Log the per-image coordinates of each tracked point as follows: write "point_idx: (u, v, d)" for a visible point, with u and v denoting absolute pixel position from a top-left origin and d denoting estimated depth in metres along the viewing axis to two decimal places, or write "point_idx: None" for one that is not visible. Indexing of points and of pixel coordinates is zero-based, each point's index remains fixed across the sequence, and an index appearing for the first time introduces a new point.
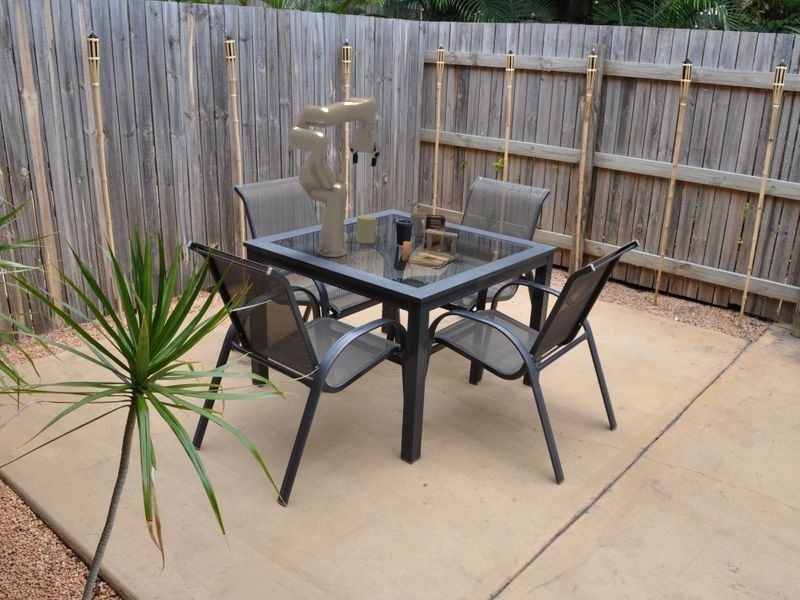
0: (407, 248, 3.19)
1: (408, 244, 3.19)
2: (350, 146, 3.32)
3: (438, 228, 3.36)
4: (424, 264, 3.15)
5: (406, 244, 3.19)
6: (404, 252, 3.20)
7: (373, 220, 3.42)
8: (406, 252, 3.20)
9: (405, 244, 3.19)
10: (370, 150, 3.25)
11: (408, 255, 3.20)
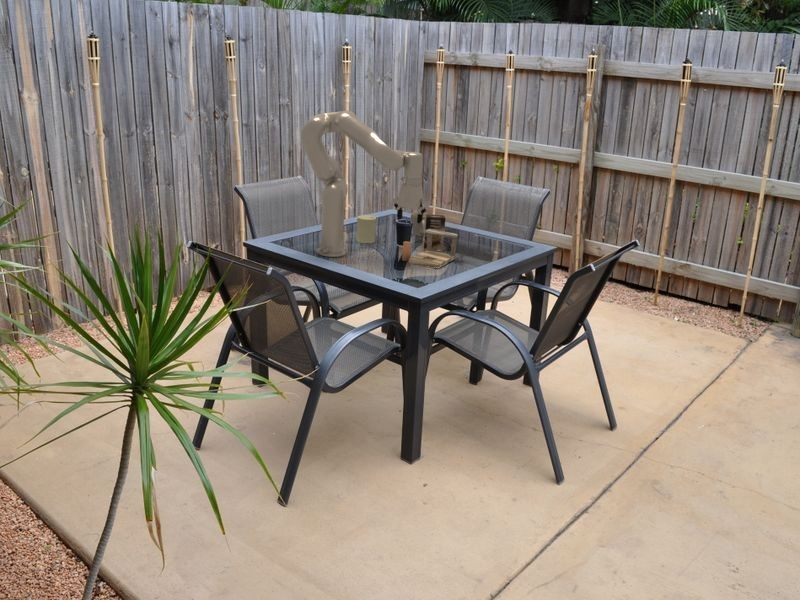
0: (407, 248, 3.19)
1: (408, 244, 3.19)
2: (394, 201, 3.17)
3: (438, 228, 3.36)
4: (424, 264, 3.15)
5: (406, 244, 3.19)
6: (404, 252, 3.20)
7: (373, 220, 3.42)
8: (406, 252, 3.20)
9: (405, 244, 3.19)
10: (416, 207, 3.10)
11: (408, 255, 3.20)
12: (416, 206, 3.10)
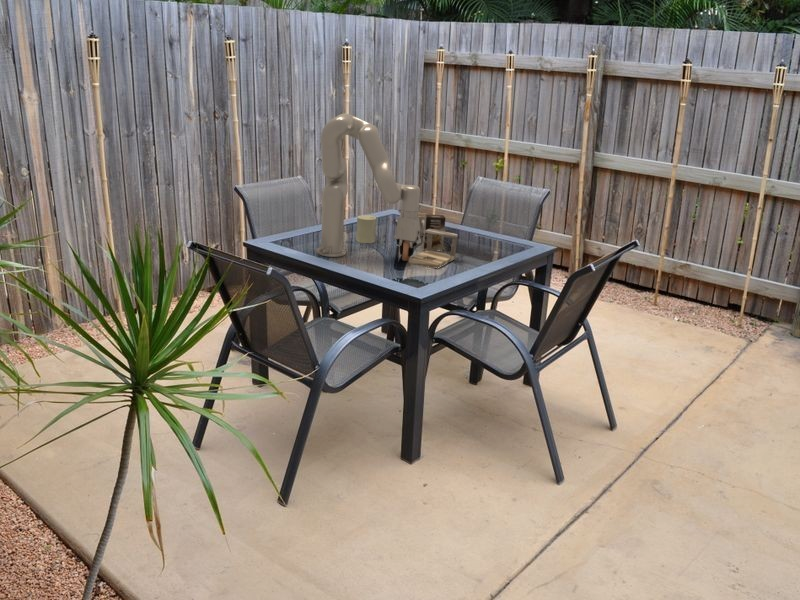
0: (407, 248, 3.19)
1: (408, 244, 3.19)
2: (396, 237, 3.21)
3: (438, 228, 3.36)
4: (424, 264, 3.15)
5: (406, 244, 3.19)
6: (404, 252, 3.20)
7: (373, 220, 3.42)
8: (406, 252, 3.20)
9: (405, 244, 3.19)
10: (413, 239, 3.15)
11: None
12: (413, 238, 3.15)
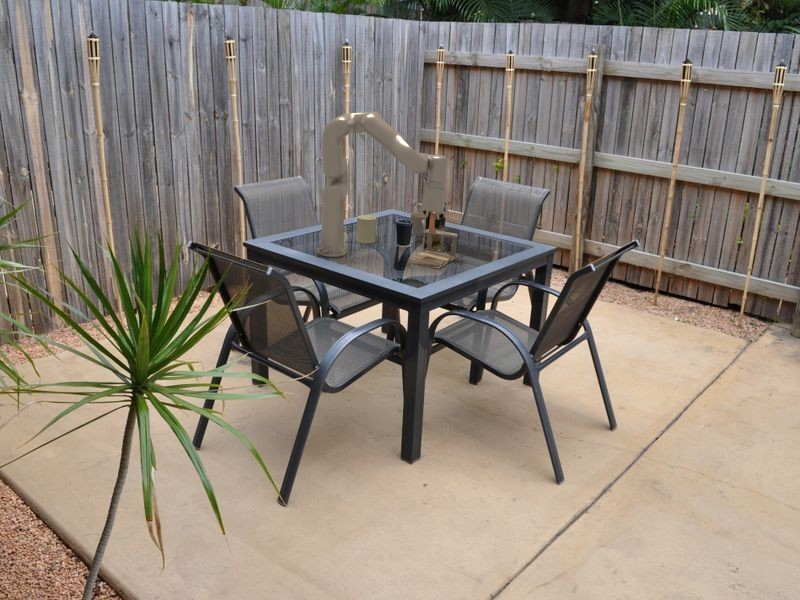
0: (434, 220, 3.13)
1: (435, 216, 3.12)
2: (422, 209, 3.15)
3: (438, 228, 3.36)
4: (424, 264, 3.15)
5: (433, 216, 3.12)
6: (431, 224, 3.14)
7: (373, 220, 3.42)
8: (433, 224, 3.13)
9: (432, 216, 3.12)
10: (440, 210, 3.08)
11: None
12: (440, 209, 3.08)
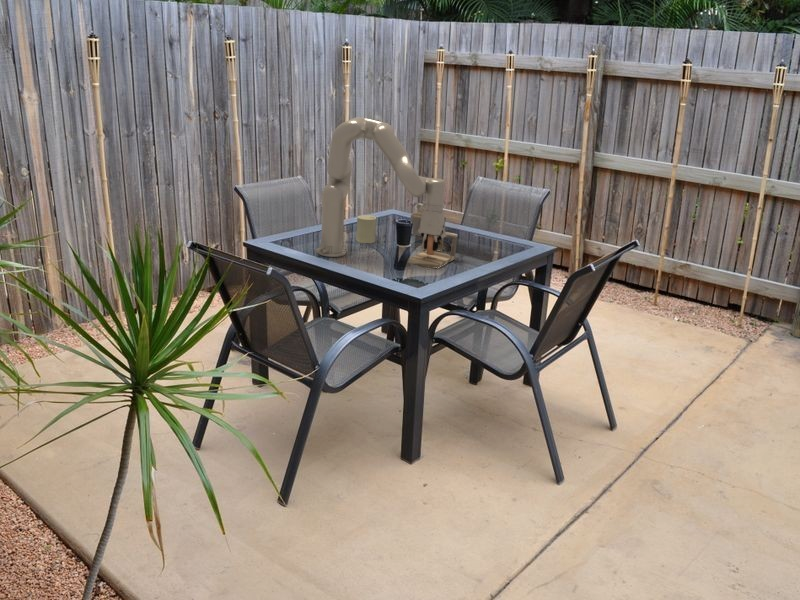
0: (432, 242, 3.16)
1: (433, 238, 3.15)
2: (420, 231, 3.18)
3: None
4: (424, 264, 3.15)
5: (431, 238, 3.15)
6: (429, 246, 3.17)
7: (373, 220, 3.42)
8: (431, 246, 3.17)
9: (430, 238, 3.16)
10: (438, 233, 3.12)
11: None
12: (438, 232, 3.12)
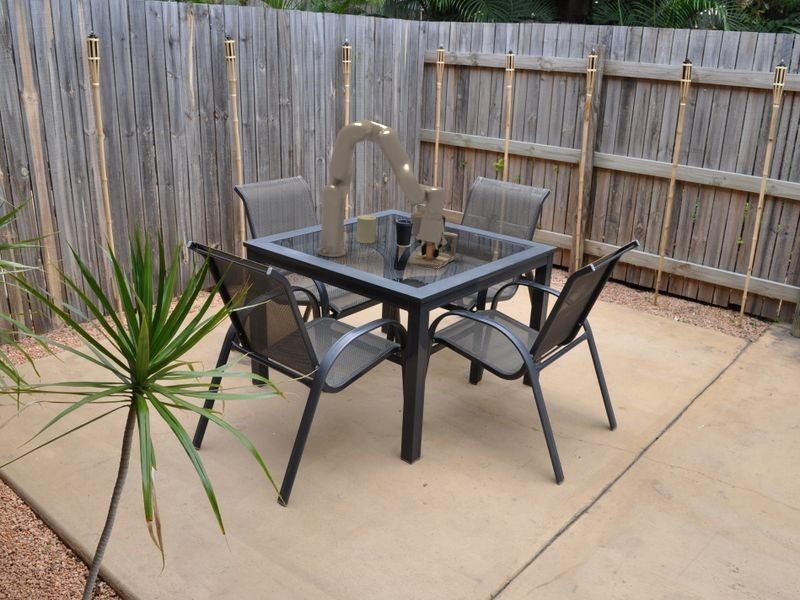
0: (431, 251, 3.17)
1: (432, 247, 3.17)
2: (418, 238, 3.20)
3: None
4: (424, 264, 3.15)
5: (430, 247, 3.17)
6: (427, 255, 3.18)
7: (373, 220, 3.42)
8: (429, 255, 3.18)
9: (429, 247, 3.17)
10: (437, 240, 3.13)
11: (431, 258, 3.19)
12: (437, 240, 3.13)
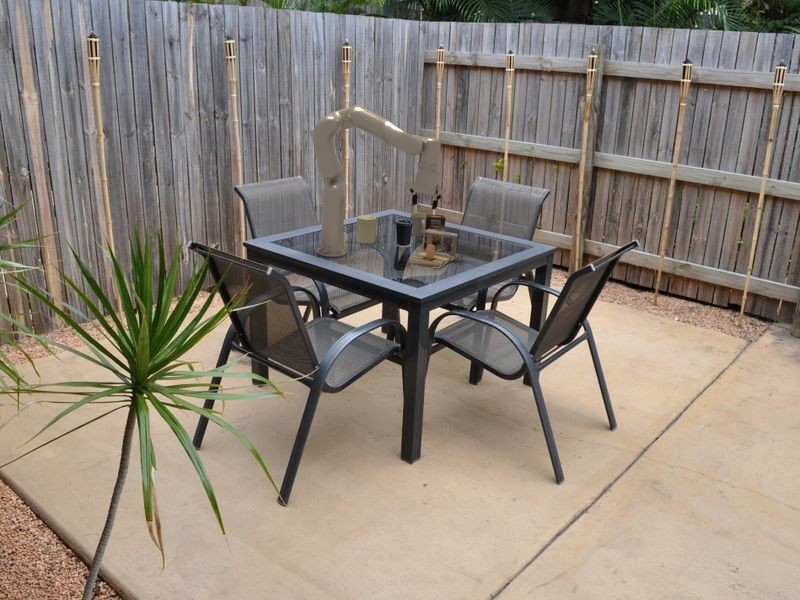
0: (431, 251, 3.17)
1: (432, 247, 3.17)
2: (410, 186, 3.17)
3: (438, 228, 3.36)
4: (424, 264, 3.15)
5: (430, 247, 3.17)
6: (427, 255, 3.18)
7: (373, 220, 3.42)
8: (429, 255, 3.18)
9: (429, 247, 3.17)
10: (432, 192, 3.10)
11: (431, 258, 3.19)
12: (432, 192, 3.10)
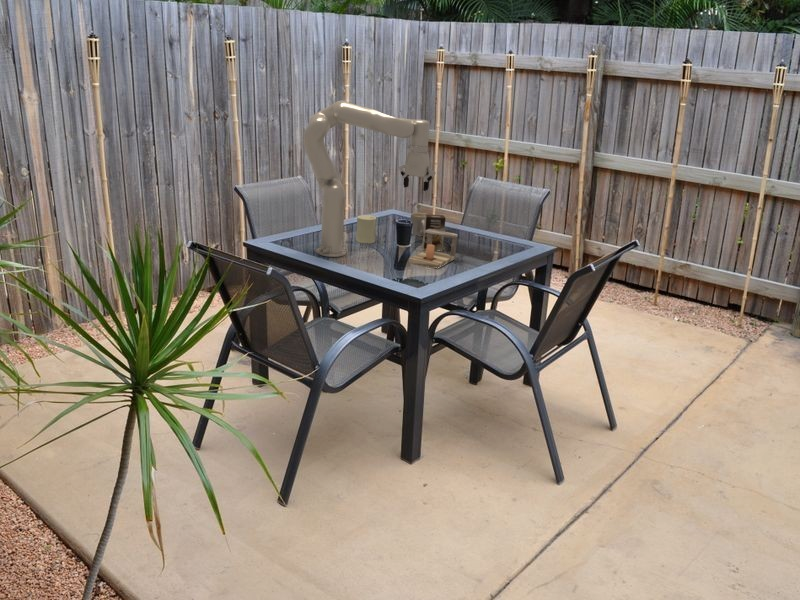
0: (431, 251, 3.17)
1: (432, 247, 3.17)
2: (401, 169, 3.20)
3: (438, 228, 3.36)
4: (424, 264, 3.15)
5: (430, 247, 3.17)
6: (427, 255, 3.18)
7: (373, 220, 3.42)
8: (429, 255, 3.18)
9: (429, 247, 3.17)
10: (423, 174, 3.14)
11: (431, 258, 3.19)
12: (422, 173, 3.14)
